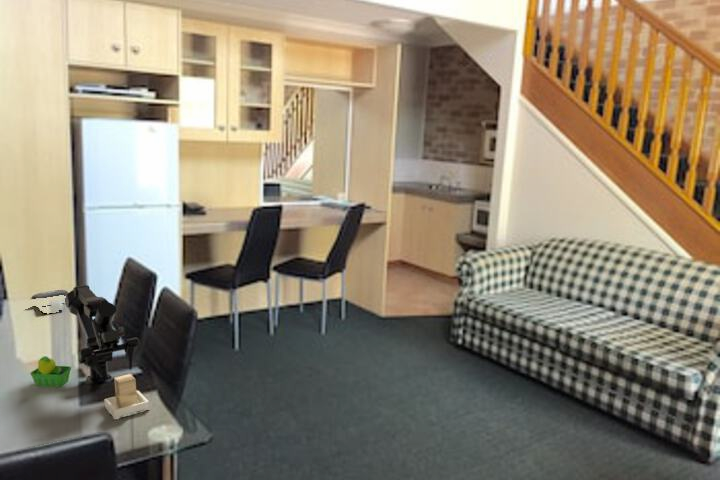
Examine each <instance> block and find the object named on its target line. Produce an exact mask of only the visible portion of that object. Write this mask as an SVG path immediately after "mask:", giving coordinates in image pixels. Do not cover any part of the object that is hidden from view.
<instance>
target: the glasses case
mask: <svg viewBox="0 0 720 480" xmlns="http://www.w3.org/2000/svg"><path fill="white" fill-rule="evenodd" d="M68 293H69V292H68V291H67V290H65V289H57V290H48V291H44V292H40V293H36V294H34V295H32V296H31V298H30V300H31V299H36V298H47V297H53V296H59V295H64V296H66V295H67V294H68Z"/></svg>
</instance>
